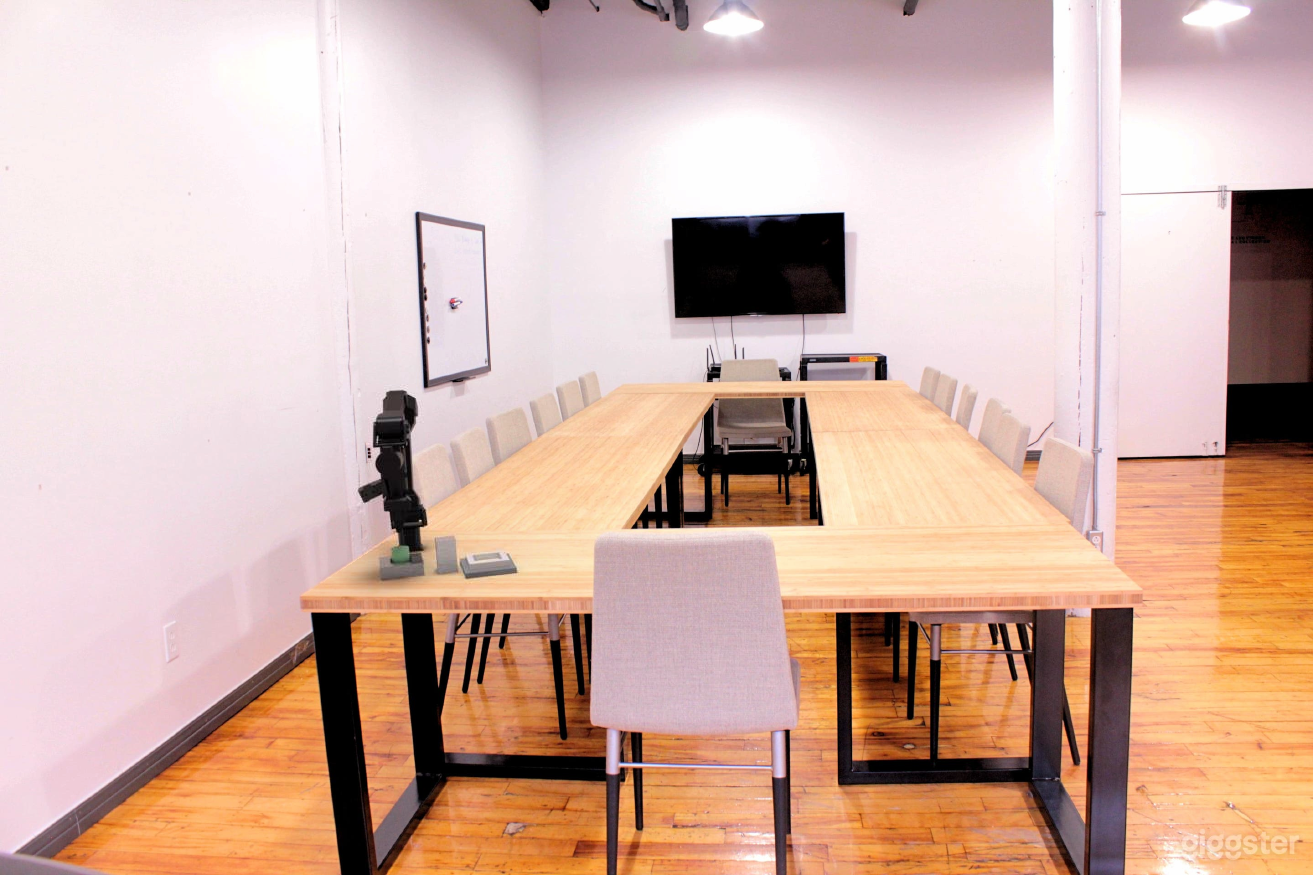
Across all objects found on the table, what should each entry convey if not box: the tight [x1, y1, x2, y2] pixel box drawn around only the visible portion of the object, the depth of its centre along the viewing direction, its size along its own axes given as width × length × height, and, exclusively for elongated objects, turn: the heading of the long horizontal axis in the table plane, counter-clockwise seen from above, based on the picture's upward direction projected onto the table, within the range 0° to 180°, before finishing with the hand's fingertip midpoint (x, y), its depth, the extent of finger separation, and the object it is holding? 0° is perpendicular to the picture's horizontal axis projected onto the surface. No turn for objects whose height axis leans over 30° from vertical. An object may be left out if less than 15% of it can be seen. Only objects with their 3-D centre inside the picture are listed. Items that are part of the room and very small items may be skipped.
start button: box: [391, 545, 410, 563], centre depth 238 cm, size 4×4×4 cm
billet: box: [434, 535, 459, 575], centre depth 237 cm, size 4×4×8 cm
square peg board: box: [378, 552, 425, 581], centre depth 238 cm, size 10×10×3 cm
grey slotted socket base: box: [459, 549, 518, 579], centre depth 239 cm, size 14×12×3 cm
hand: (398, 532), depth 237 cm, fingers closed
